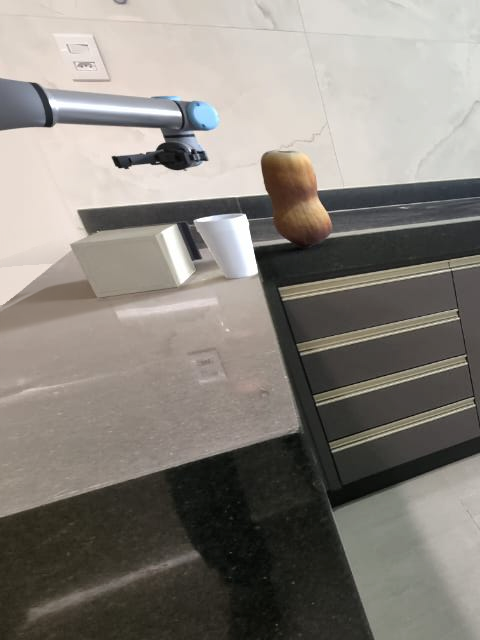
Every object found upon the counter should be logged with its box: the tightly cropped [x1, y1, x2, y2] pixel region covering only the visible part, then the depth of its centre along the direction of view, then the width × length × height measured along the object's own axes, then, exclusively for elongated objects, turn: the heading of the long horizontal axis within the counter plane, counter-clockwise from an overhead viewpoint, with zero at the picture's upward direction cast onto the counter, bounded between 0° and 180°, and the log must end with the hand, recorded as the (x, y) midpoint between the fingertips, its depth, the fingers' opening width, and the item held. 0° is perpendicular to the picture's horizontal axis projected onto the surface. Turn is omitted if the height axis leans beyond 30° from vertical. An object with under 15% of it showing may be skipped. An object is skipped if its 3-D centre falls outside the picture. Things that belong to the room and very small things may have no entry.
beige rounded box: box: [69, 224, 197, 299], centre depth 116 cm, size 15×14×11 cm
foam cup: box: [193, 213, 258, 280], centre depth 119 cm, size 10×9×13 cm
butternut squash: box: [260, 149, 333, 250], centre depth 141 cm, size 14×13×25 cm
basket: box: [120, 220, 203, 263], centre depth 127 cm, size 20×13×9 cm, turn 25°
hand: (151, 160), depth 134 cm, fingers open, 13 cm apart
